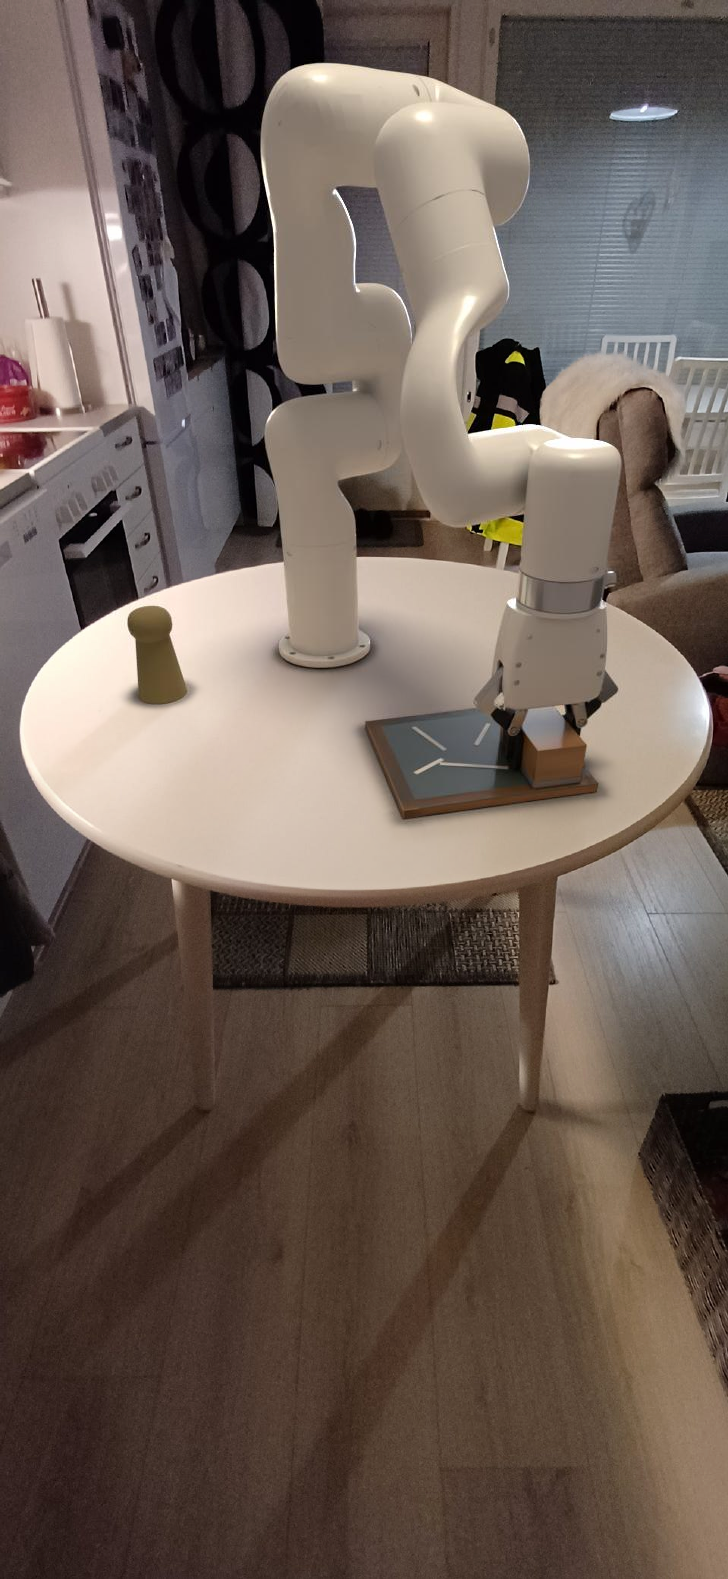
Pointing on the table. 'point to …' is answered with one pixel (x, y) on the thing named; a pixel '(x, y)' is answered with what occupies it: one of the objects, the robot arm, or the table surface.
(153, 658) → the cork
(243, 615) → the table surface
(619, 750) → the table surface
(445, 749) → the chalkboard
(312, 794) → the table surface
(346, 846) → the table surface
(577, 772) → the eraser
